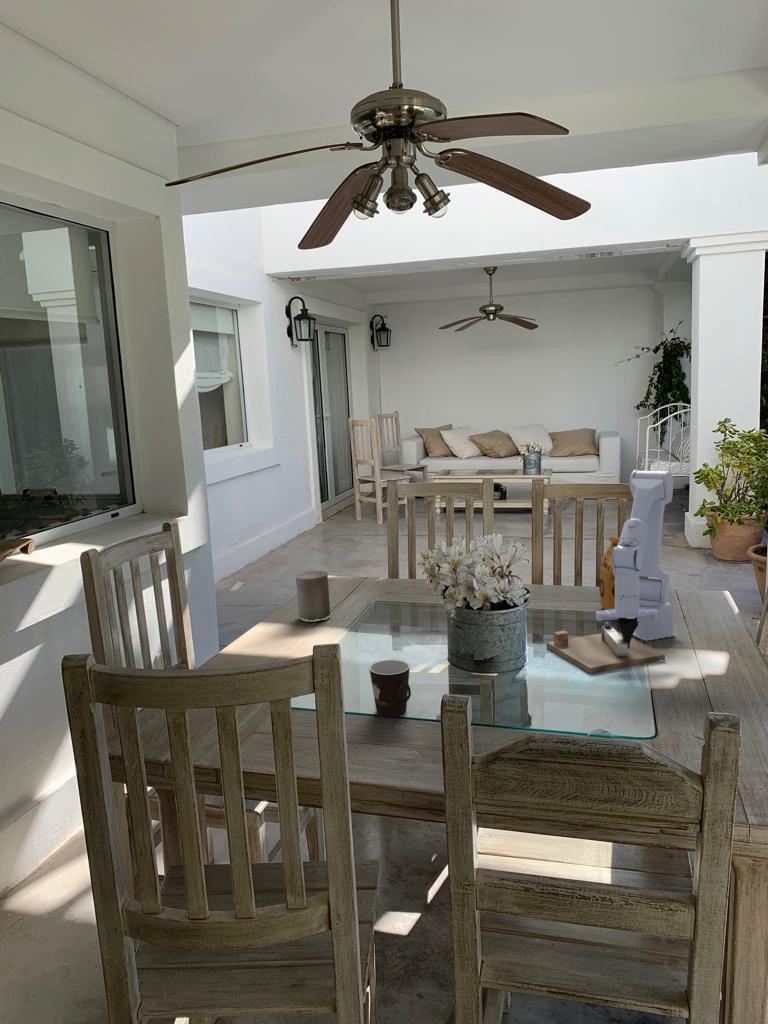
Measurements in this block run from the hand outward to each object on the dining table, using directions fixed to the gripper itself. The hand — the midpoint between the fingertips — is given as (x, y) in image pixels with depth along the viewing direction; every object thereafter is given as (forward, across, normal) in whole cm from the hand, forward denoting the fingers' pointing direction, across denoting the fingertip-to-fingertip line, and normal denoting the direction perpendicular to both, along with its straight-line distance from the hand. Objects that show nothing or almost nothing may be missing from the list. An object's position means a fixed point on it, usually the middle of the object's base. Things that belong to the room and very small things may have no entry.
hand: (626, 647), depth 194 cm
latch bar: (+1, -2, +4) cm, 4 cm away
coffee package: (+3, +7, +38) cm, 38 cm away
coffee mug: (+3, -57, -30) cm, 64 cm away
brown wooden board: (+3, -5, +3) cm, 6 cm away
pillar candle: (+3, -83, +41) cm, 92 cm away
